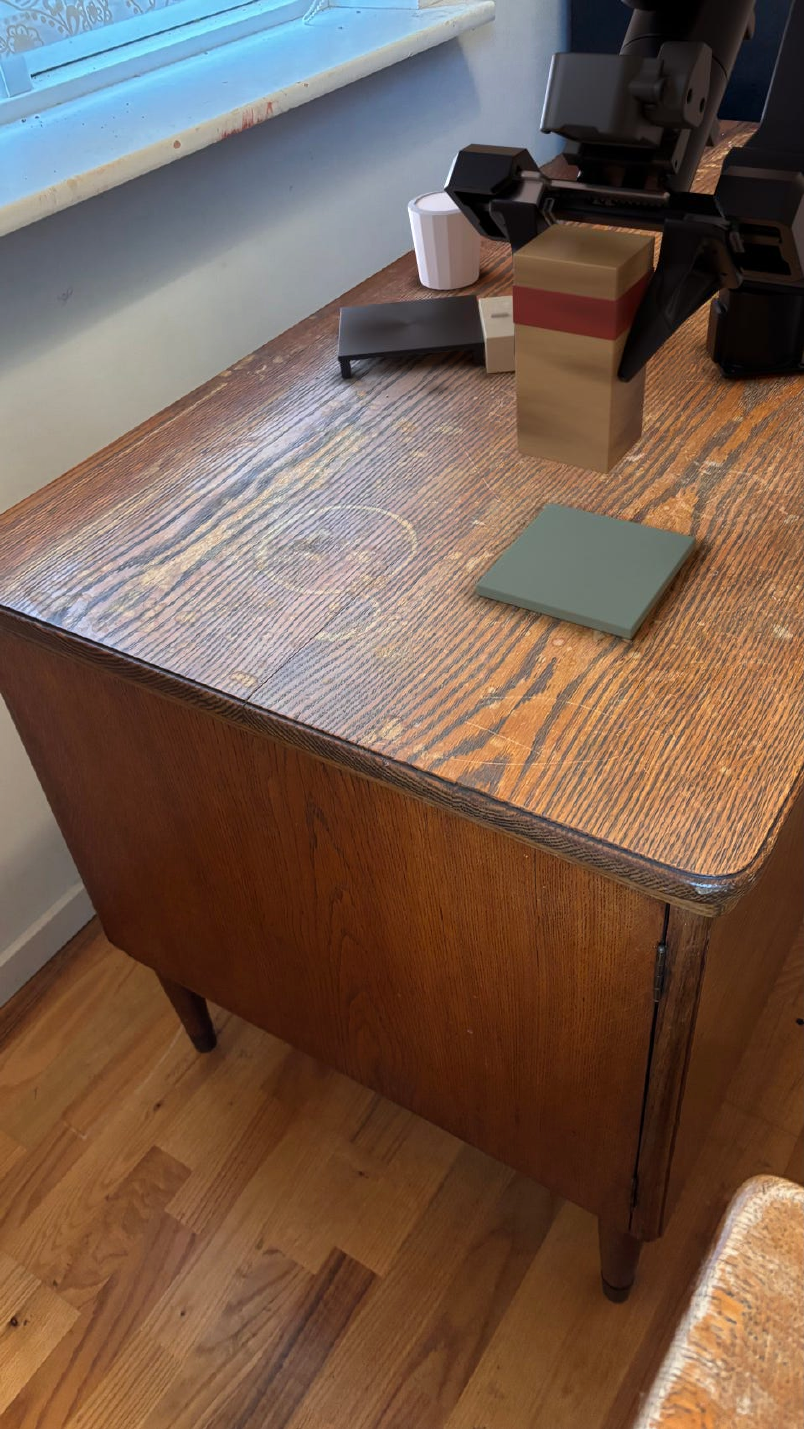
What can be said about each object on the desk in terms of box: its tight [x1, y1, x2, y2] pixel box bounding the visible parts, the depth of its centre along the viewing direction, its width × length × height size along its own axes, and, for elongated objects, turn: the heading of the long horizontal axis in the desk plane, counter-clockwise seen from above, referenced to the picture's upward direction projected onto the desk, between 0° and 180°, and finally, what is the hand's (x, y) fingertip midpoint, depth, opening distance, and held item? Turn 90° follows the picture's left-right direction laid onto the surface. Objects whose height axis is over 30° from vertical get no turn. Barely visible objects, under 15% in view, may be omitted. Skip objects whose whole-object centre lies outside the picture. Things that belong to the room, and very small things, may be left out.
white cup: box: [407, 189, 482, 291], centre depth 98 cm, size 7×7×7 cm
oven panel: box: [478, 295, 516, 374], centre depth 87 cm, size 10×9×3 cm
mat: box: [475, 502, 697, 640], centre depth 64 cm, size 10×10×1 cm
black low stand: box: [337, 294, 485, 379], centre depth 89 cm, size 12×10×2 cm
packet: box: [511, 224, 656, 475], centre depth 55 cm, size 4×6×11 cm
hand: (569, 369), depth 55 cm, fingers closed on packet, 5 cm apart
